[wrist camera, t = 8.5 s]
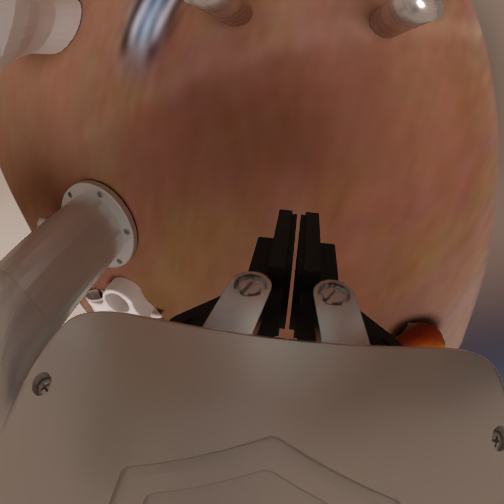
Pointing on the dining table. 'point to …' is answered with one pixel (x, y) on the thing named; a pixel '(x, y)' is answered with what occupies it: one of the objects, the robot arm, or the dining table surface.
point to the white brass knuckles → (122, 299)
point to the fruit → (421, 335)
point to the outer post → (404, 16)
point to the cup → (36, 27)
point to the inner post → (225, 10)
